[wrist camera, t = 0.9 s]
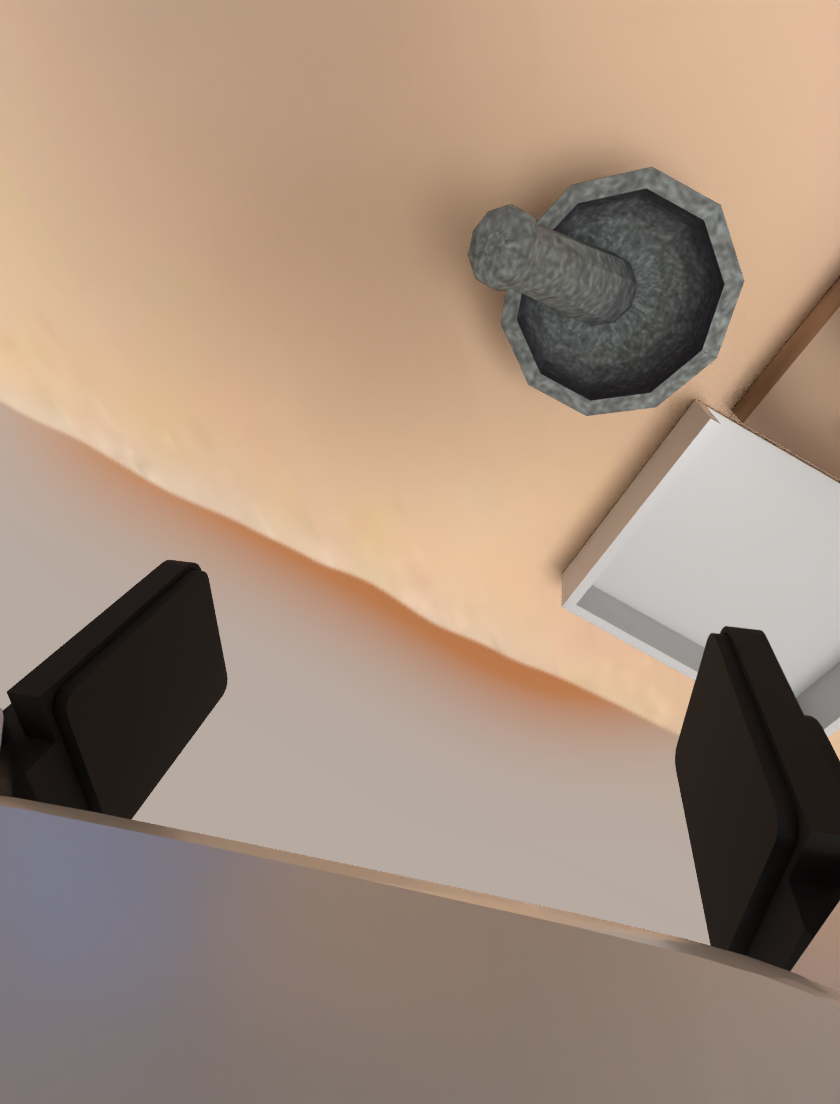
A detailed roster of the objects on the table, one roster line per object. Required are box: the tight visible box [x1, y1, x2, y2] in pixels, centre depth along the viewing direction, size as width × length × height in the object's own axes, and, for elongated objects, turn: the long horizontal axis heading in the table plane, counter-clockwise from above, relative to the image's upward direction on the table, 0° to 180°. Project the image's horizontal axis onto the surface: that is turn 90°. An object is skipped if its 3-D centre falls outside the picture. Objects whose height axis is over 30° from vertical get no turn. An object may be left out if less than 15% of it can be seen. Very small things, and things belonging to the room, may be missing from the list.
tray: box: [562, 399, 840, 737], centre depth 35 cm, size 13×18×4 cm
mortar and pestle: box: [468, 167, 744, 416], centre depth 26 cm, size 11×9×12 cm
